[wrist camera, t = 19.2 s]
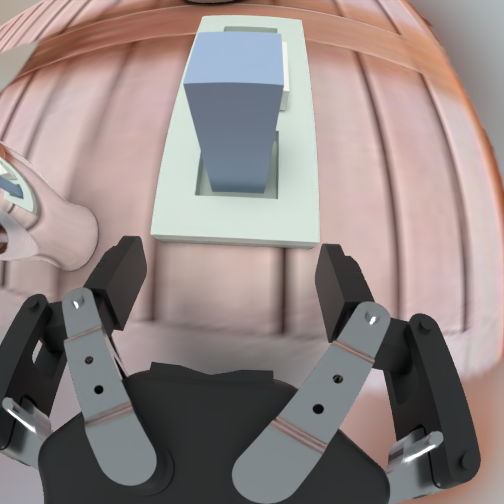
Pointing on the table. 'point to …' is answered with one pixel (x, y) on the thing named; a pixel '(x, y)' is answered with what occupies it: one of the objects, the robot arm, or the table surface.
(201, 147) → the peg
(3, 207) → the beer glass
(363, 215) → the table surface
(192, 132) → the board
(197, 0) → the canister
